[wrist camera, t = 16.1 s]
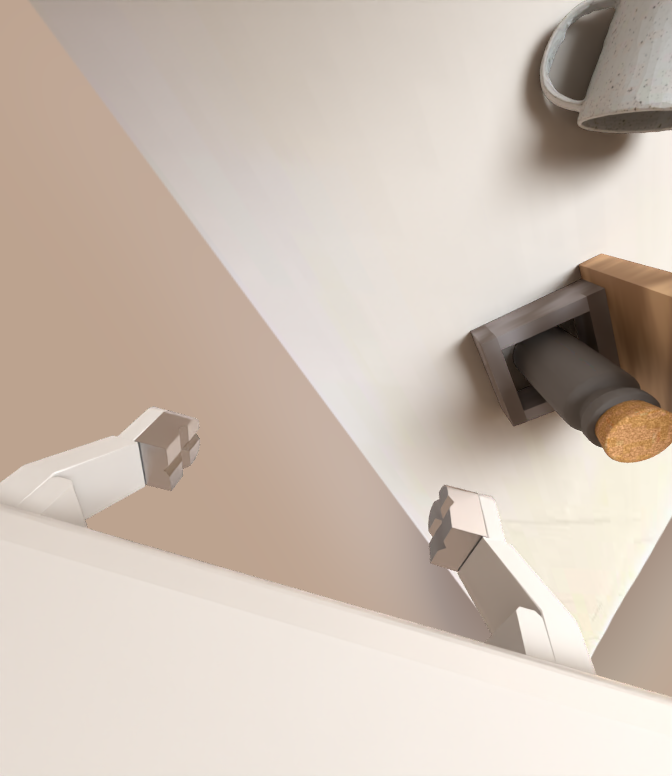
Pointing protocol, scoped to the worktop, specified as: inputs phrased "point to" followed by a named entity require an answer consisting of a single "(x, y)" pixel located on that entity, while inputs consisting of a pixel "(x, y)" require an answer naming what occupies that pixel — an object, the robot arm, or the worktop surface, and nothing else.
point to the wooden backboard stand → (591, 330)
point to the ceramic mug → (622, 69)
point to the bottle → (594, 395)
